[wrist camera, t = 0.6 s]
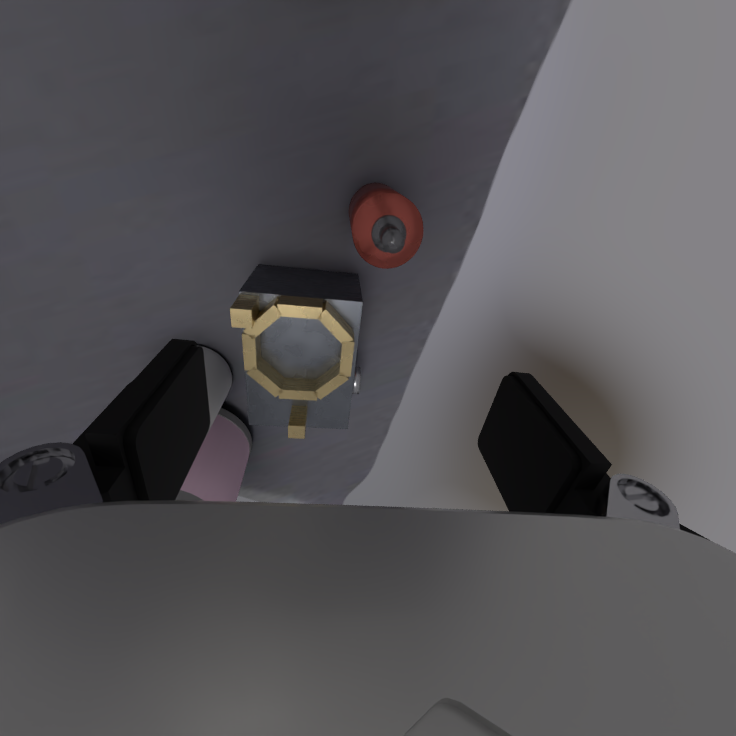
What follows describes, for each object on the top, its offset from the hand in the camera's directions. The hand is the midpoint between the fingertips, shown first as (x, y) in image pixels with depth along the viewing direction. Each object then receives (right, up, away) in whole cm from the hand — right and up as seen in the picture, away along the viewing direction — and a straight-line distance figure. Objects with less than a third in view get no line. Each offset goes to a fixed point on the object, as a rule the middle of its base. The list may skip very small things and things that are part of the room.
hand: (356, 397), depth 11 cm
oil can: (+1, +16, +22) cm, 27 cm away
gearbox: (-6, +5, +28) cm, 29 cm away
